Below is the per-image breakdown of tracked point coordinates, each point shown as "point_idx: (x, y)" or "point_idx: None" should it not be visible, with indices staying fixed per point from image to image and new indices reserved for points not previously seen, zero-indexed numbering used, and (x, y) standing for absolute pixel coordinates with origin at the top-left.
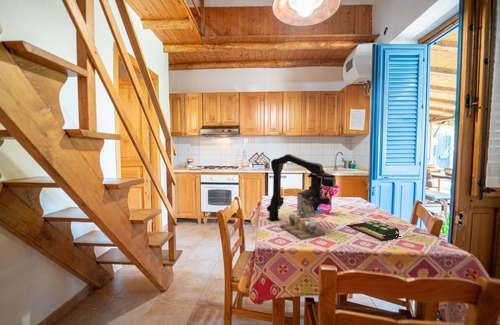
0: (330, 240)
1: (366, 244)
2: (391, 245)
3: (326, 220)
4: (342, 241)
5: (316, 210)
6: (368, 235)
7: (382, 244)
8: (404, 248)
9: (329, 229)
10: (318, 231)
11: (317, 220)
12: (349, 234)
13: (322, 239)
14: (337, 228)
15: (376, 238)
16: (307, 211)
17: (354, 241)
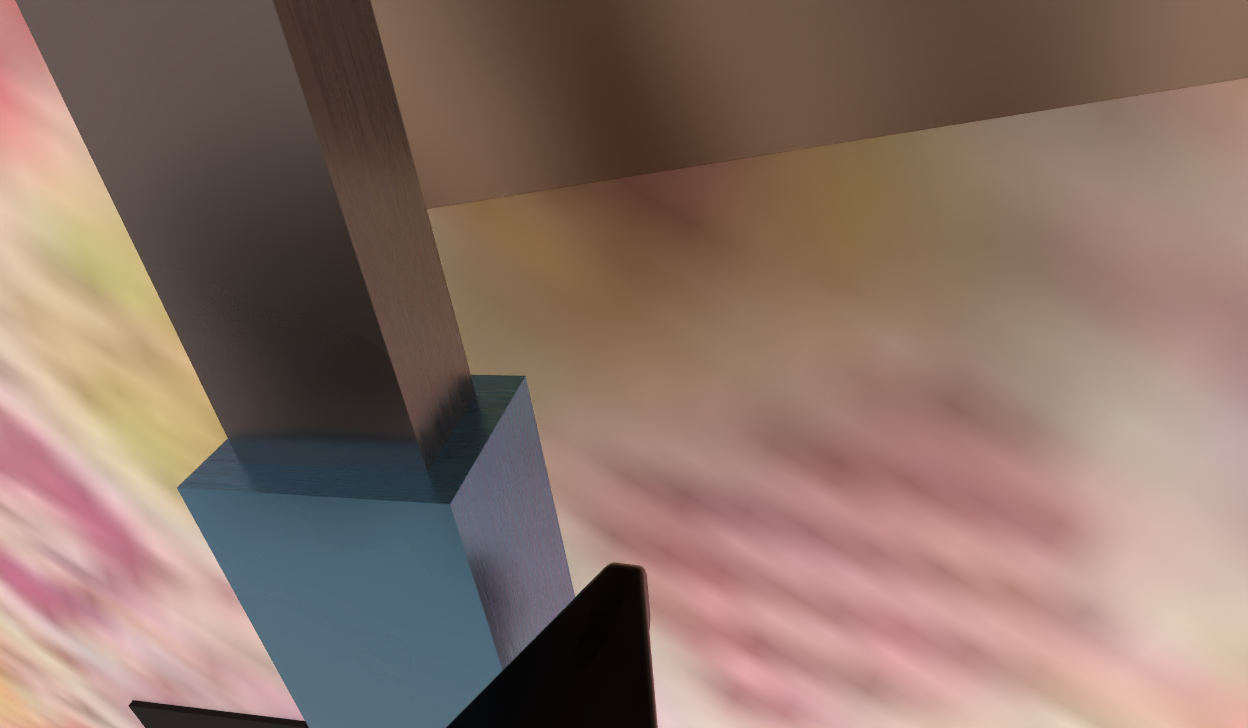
0: (9, 154)
1: (11, 528)
2: (56, 692)
3: (1062, 725)
4: (23, 325)
5: (285, 597)
6: (295, 721)
7: (60, 652)
8: (17, 719)
9: (557, 471)
10: None
11: (1179, 597)
12: None
13: (15, 13)
14: None
15: (198, 715)
16: (183, 20)
17: (70, 473)
